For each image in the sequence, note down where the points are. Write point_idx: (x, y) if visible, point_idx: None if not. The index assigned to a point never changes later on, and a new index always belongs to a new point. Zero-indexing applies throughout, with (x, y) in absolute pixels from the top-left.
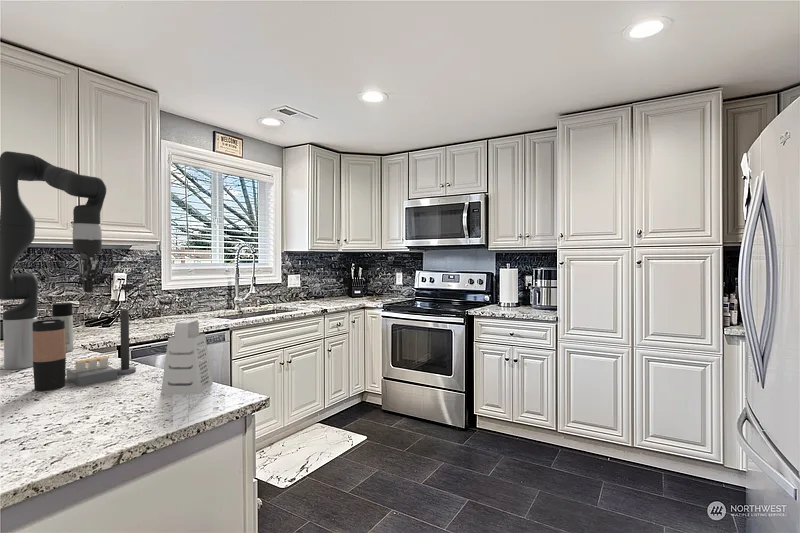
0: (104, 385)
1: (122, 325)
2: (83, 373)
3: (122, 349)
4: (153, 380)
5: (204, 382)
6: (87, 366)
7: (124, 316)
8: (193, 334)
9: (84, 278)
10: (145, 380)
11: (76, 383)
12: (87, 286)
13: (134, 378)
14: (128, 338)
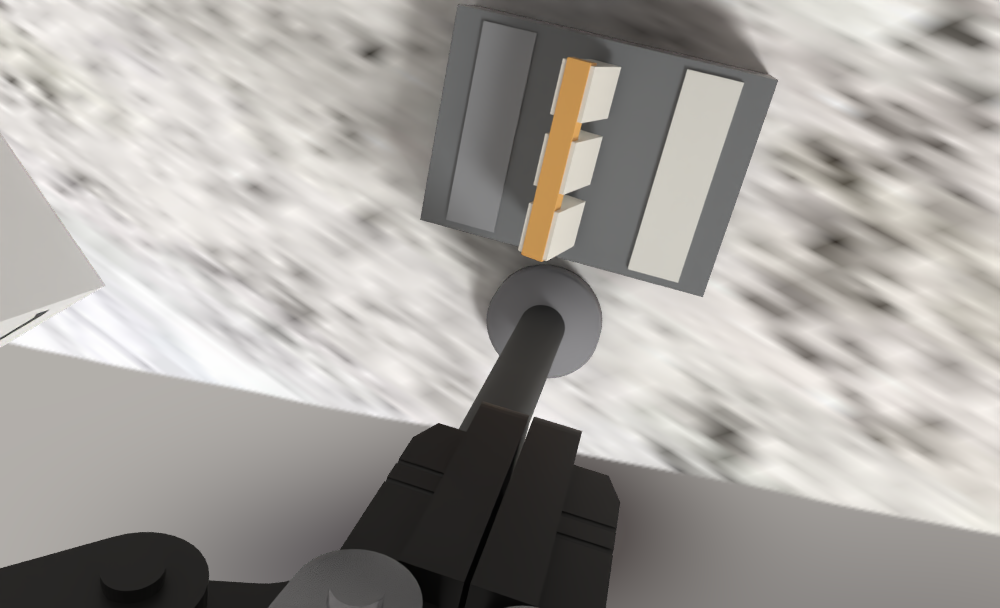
0: (373, 93)
1: None
2: (509, 59)
3: (505, 362)
4: (249, 271)
5: (20, 334)
6: (589, 136)
7: None
8: None
9: (329, 602)
10: (283, 254)
11: (537, 20)
12: (388, 486)
13: (372, 256)
14: None
